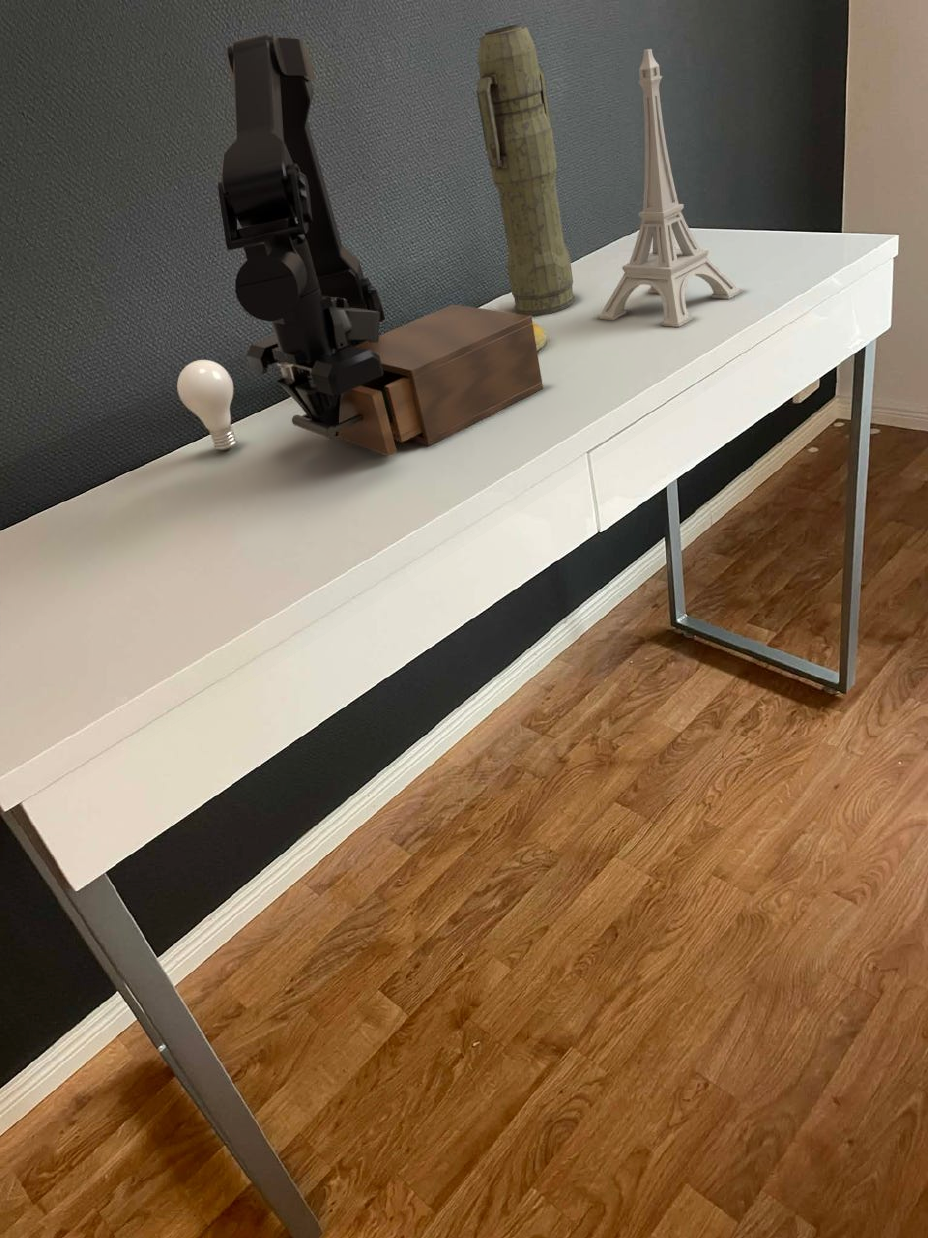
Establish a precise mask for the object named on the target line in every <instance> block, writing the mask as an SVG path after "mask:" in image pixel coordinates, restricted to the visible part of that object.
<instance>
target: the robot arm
mask: <svg viewBox="0 0 928 1238" xmlns="http://www.w3.org/2000/svg"><path fill="white" fill-rule="evenodd" d="M225 60H226V64H227V69H228V73H229V76H230V80H231V85H232V88H233V96H234V97H233V98H234V101H233V102H234V124H235V126H234V127H235V128H234V129H235V136H234V137H235V139H234V142H233V143H232V144H230V146H229V148H227V149H226V151H225V152H224V154H223V156H222V161H221V162H222V163H221V173H220V174H221V175H220V176H221V177H220V178H221V180H219V181H218V182H217V192H218V197H219V204H220V205H219V206H220V211H221V218H222V224H223V232H224V239H225V246H226V248H227V250H228V251H233V250H238V249H242V248H243V250H244V254H245V258H246V260H245V262H244V263H243V264H241V267H240V268H239V269H238V271H237V273H236V276H235V284H234V286H235V289H234V292H235V296H236V298H237V300H238V303H239V304H240V306H241V307H242V308H243V310H244V311H245V312H246V313H247V314H249V315H250V316H251V317H253V318H255V319H257V320H259V321H260V320H261V321H264V322H270V324H271V328H272V331H273V334H274V335H272V336H270V337H266V338H265V339H262V340H259V341H256V342H255V343H252V344H250V346H249V349H248V351H247V354H246V358H247V362H248V365H249V367H250V370H251V372H253V373H255V374H258V375H264V374H267V373H268V368H269V366H271V365H274V364H275V365H276V366H277V367H279V368H280V371H281V375H282V378H279V379H278V380H277V381H276V382H277V384H278V385H279V386H280V387H282V388H283V390H284V391H285V392H286V393H287V394H288V395H289V396H290V398H292V399H293V401H294V402H295V403H297V405H298V406H299V407H300V408H301V410H303V412H304V413H305V414H307V415H308V416H309V417H310V418H311V420H314V421H317V422H320V423H323V424H326V425H328V426H331V427H332V426H334V425H336V424H338V423H339V412H340V397H341V394H342V393H344V392H346V391H349V390H351V389H353V388H356V387H358V386H360V385H362V384H365V383H367V382H369V381H372V380H374V379H376V378H379V377H381V376H383V374H384V372H383V368H382V364H381V360H380V356H379V355H378V354H376V353H374V352H373V351H371V350H369V349H364V348H359V347H355V346H356V345H359V344H361V343H363V342H366V341H369V342H378V339H379V336H380V323H381V322H383V321H385V320H386V317H385V312H384V308H383V304H382V302H381V299H380V297H379V294H378V291H377V288H376V287H375V286H373V285H372V282H371V281H370V279H369V277H367V276H366V277H365V275H364V272H363V268H362V266H361V263H360V261H359V259H358V258H356V256H355V255H354V254H352V252H350V250H348V249H347V248H346V247H345V246H344V245H343V242H342V240H341V236H340V232H339V228H338V225H337V222H336V218H335V214H334V210H333V207H332V204H331V199H330V196H329V192H328V189H327V185H326V181H325V178H324V175H323V171H322V167H321V164H320V160H319V156H318V154H317V150H316V146H315V142H314V139H313V135H312V131H311V128H310V125H309V124H310V123H309V116H310V111H311V107H312V102H313V98H314V94H315V93H314V91H315V90H314V87H313V83H312V81H314V80H315V73H314V72H315V71H314V67H313V63H312V62H313V61H312V58H311V55H310V51H309V49H308V46H307V45H306V43H305V42H303V41H302V40H301V39H299V38H295V37H294V36H293V35H290V36H286V37H278V36H277V35H275V34H271V35H270V34H269V33H263V34H258V35H254V36H250V37H245V38H242V39H241V38H240V39H237V40H234V41H233V42H232V44H230V45H227V54H226V55H225ZM238 223H239V226H240V227H241V228H238ZM338 433H339V431H338V432H336V435H335V436H334V437H333V438H328V437H326V438H327V439H329V440H332V439H335V438H338V437H337V436H338Z"/></svg>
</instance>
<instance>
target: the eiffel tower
mask: <svg viewBox="0 0 928 1238" xmlns="http://www.w3.org/2000/svg"><path fill="white" fill-rule="evenodd" d="M638 73H639V74H638V75H639V80H638V81H637V84H638V85H639V86H640V87H641V90H642V98H643V115H644V116H643V117H644V119H643V120H644V181H643V182H644V183H643V205H642V211H640V212H638V213H637V214H638V215H637V216H638V218H640V219H641V222H640V225H639V230H638V233H637V237H636V241H635V245H634V247H633V251H632V254H631V257H630V260H629V263H627V264H624V265H622V266H621V269H622V270H623V272H624V273H623V275H622V277H621V278H620V280H619V282H618V283H617V285H616V287H615V288H614V290H613V292H612V294H611V295H610V297H609V299H608V300H607V302H606V304H605V305H604V307H603V309H602V311H601V312H600V314H598V315H597V319H599V320H608V321H615V320H616V319H619V318H620V317H622V316H625V315H626V314H627V310H625V306H626V303H627V302H628V300H629V297H630V296H631V294H632V293H633V292H634V291H635V290H636V289H637V288H639V286H641V285H645V286H646V285H647V286H650V288H649V289H648V290H647V291H648V292H647V293H648V294H659V296H660V298H661V302H662V305H663V321H661V322H660V323H661V326H664V327H665V326H666V327H673V328H680V327H681V326H683V325H686V323H689V322H690V321H692V316H690V314H689V311H688V309H687V306H686V297H685V295H686V286H687V285H688V282H689V280H690V279H691V278H692V277H693V276H696V277H698V278H700V279H702V280H704V282H706V283H707V284H708V285H709V287H711V289H712V292H713V293H712V294H711V298H712V299H713V298H714V299H726V300H730V299H731V298H733V297H735V296H737V295H739V294H740V293H742V288H738V286H736V284H734V282H732V280H731V279H730V278H729V277H727V275H725V273H724V272H722V271H721V270H720V269H719V267H717V266H716V265H715V264H714V263H713V262H712V261H711V260H710V259H709V258H708V255H709V251H710V250H709V249H701V248H700V246H699V244H698V242H697V241H696V239H695V237H694V236H693V233H692V232H691V230H690V228H689V226H688V223H687V222H686V219H685V217H684V215H683V212H682V210H683V209H685V205H684V203H679V200H678V196H677V191H676V187H675V182H674V178H673V173H672V167H671V163H670V157H669V152H668V146H667V141H666V134H665V126H664V121H663V119H664V118H663V113H662V103H661V95H660V83H661V81H662V80H663V75H661V71H660V64H659V63H658V62H657V61H656V59H655V57H654V54H653V48H648V49H644V50H643V57H642V61H641V65H640V66H639V68H638ZM675 240H676V242H675ZM675 243H677V245H678V247H679V248H676V245H675ZM651 247H652V251H651Z"/></svg>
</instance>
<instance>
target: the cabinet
mask: <svg viewBox="0 0 928 1238" xmlns="http://www.w3.org/2000/svg"><path fill="white" fill-rule="evenodd" d="M532 321H533V317H532V316H528V315H522V314H518V313H516V312H507V311H500V310H493V309H487V308H480V307H474V306H466V305H460V304H454V303H453V304H450V305H448V306H445V307H443V308H441V309H439V310H438V309H437V310H436V311H433V312H431V313H429V314H426V315H424V316H422V317H420V318H417V319H415V320H413V321H409V322H408V323H406V324H403V325H400V326H399V327H397V328H394V329H391V330H389V331H387V332H385V333H382V334H379V339H378V342H369V341H366V342H363V343H361V344H359V345H356V346H355V347H359V348H364V349H369V350H371V351H373V352H374V353H376V354H378V355H379V356H380V360H381V364H382V368H383V370H384V371H388V372H392V373H396V374H400V375H404V376H408V377H409V379H410V383H411V387H412V391H413V396H414V400H415V404H416V408H417V412H418V417H419V421H420V425H421V429H422V433H420V434H418V435H416V436H414V437H412V438H410V439H408V441H409V440H410V441H413V442H416V443H419V444H422V445H425V446H427V447H431V446H432V445H434V444H436V443H438V442H440V441H442V440H444V439H446V438H448V437H450V436H452V435H454V434H457V433H458V432H461V431H462V430H464V429H467V428H468V427H470V426H472V425H473V424H476V423H477V422H480V421H482V420H484V419H486V418H488V417H489V416H491V415H494V414H496V413H497V412H500V411H502V410H503V409H506V408H508V407H509V406H512V405H513V404H515V403H517V402H520V401H521V400H523V399H525V398H527V397H529V396H531V395H534V394H535V393H537V392H540V391H541V390H543V389H544V385H543V379H542V374H541V367H540V366H541V365H540V360H539V355H538V351H537V347H536V341H535V335H534V329H533V323H532Z"/></svg>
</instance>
